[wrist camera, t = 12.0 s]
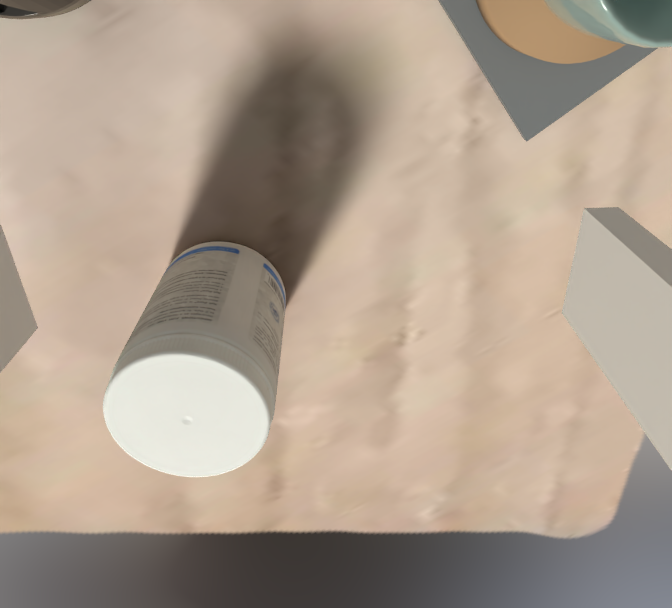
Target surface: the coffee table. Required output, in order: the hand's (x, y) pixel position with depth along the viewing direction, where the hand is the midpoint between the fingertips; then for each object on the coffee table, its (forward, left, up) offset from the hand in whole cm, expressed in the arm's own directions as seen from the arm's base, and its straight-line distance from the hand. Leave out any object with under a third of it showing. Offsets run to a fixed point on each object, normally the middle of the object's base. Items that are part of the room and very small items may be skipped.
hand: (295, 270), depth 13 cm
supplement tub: (+7, -15, -27) cm, 32 cm away
